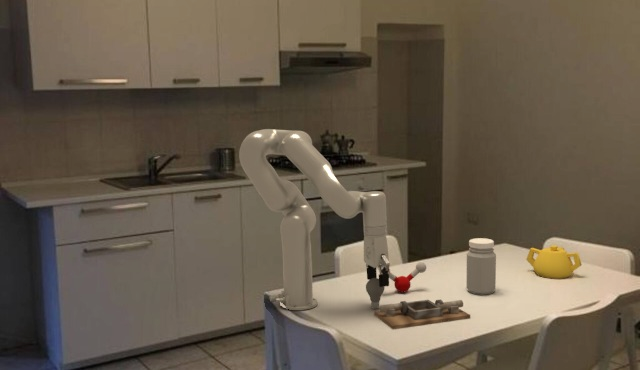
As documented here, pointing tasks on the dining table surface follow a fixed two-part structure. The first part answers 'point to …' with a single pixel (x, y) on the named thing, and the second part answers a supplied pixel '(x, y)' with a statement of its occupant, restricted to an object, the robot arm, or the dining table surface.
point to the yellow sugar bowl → (553, 262)
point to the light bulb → (374, 292)
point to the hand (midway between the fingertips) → (377, 282)
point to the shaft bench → (420, 313)
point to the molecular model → (406, 278)
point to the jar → (481, 266)
